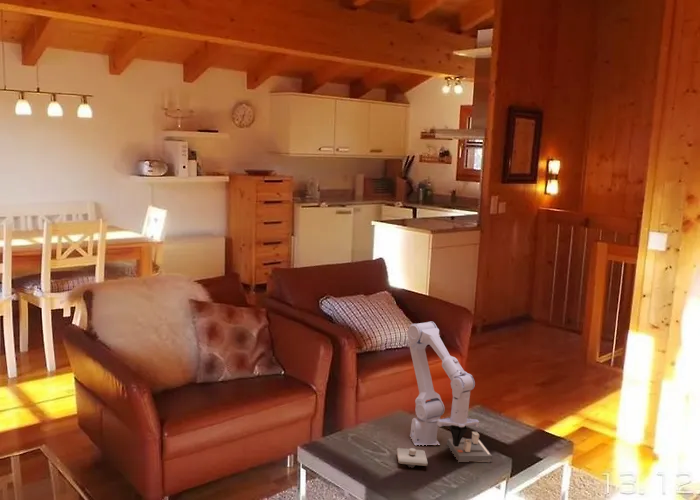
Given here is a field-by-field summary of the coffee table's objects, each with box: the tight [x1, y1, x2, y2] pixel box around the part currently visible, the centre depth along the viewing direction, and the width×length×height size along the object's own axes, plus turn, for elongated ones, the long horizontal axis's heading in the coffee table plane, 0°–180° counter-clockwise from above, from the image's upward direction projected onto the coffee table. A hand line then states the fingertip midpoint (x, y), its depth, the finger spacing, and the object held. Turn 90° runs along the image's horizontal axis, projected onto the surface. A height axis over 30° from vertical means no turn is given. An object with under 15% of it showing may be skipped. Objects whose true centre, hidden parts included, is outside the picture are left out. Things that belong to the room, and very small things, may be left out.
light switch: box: [396, 447, 428, 469], centre depth 222 cm, size 10×10×5 cm
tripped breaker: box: [463, 438, 471, 452], centre depth 229 cm, size 2×3×4 cm
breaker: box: [471, 431, 480, 444], centre depth 236 cm, size 2×3×4 cm
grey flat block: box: [446, 438, 493, 463], centre depth 233 cm, size 12×13×2 cm
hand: (455, 445), depth 228 cm, fingers closed
